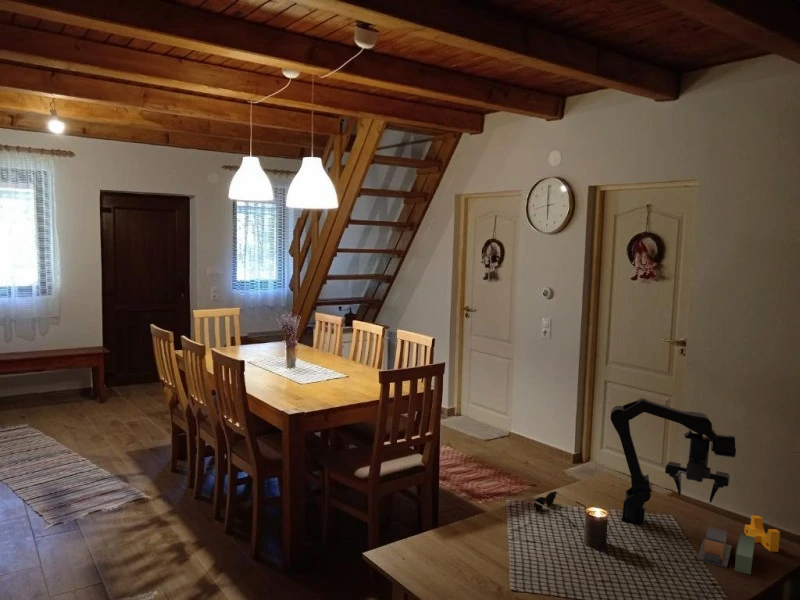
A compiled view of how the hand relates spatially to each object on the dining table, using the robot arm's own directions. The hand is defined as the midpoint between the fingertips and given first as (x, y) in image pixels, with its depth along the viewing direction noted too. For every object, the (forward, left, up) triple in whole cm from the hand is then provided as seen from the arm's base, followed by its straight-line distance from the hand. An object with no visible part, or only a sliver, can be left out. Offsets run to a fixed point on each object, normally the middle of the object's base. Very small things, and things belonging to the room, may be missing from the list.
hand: (694, 498), depth 203 cm
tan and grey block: (+8, -13, -10) cm, 18 cm away
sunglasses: (-39, -15, -12) cm, 43 cm away
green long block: (+16, -13, -11) cm, 23 cm away
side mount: (+8, -13, -11) cm, 19 cm away
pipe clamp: (+19, +5, -11) cm, 23 cm away
